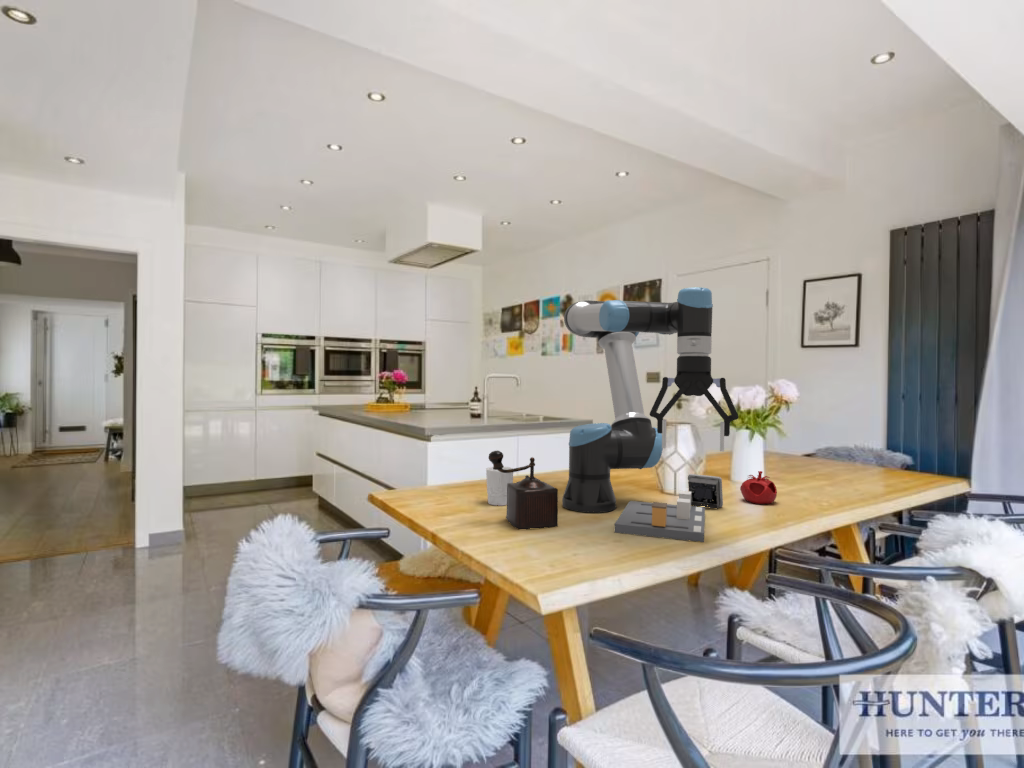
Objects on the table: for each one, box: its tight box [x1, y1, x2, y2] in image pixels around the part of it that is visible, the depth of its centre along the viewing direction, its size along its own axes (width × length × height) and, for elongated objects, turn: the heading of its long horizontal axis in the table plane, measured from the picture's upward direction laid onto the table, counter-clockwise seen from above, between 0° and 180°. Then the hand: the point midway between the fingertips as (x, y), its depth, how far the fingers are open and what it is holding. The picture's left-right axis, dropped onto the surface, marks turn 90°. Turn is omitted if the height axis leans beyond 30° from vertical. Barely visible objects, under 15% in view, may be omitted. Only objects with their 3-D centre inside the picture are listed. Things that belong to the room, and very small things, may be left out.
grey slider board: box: [614, 490, 706, 543], centre depth 136 cm, size 20×26×6 cm
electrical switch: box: [687, 473, 724, 510], centre depth 154 cm, size 9×5×9 cm, turn 57°
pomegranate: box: [739, 471, 778, 505], centre depth 161 cm, size 10×10×9 cm
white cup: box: [485, 466, 514, 507], centre depth 156 cm, size 8×8×10 cm
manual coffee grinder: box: [488, 450, 559, 530], centre depth 134 cm, size 16×11×18 cm
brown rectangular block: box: [652, 501, 668, 527], centre depth 127 cm, size 3×4×5 cm
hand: (692, 449), depth 124 cm, fingers open, 12 cm apart
